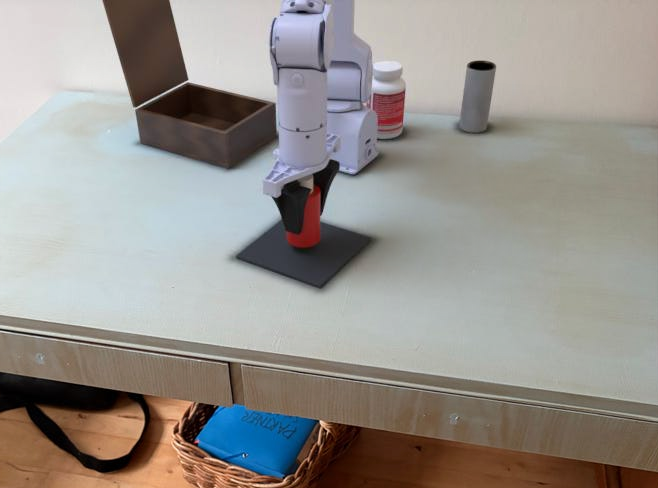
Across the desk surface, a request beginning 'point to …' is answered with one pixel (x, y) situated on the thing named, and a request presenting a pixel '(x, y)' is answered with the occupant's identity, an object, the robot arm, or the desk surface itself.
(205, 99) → the brown wooden open box
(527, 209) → the desk surface
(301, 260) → the mat
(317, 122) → the robot arm
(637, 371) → the desk surface
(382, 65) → the pill bottle
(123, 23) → the brown box lid
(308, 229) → the ketchup
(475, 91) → the grey tube
